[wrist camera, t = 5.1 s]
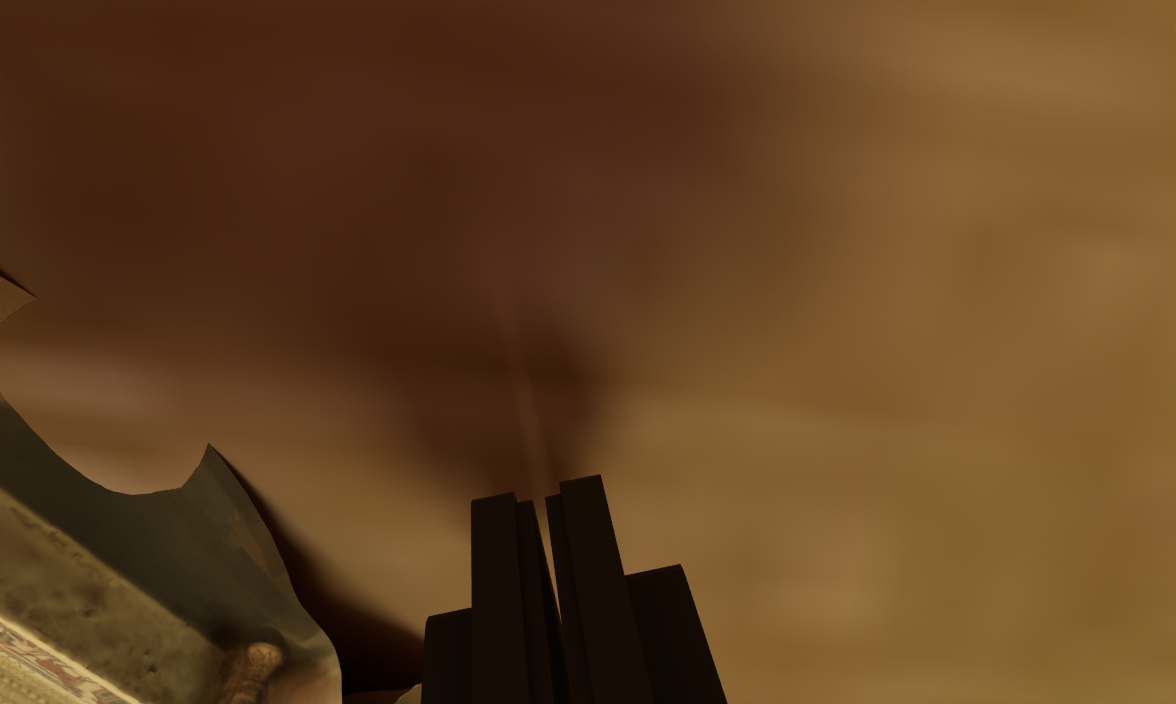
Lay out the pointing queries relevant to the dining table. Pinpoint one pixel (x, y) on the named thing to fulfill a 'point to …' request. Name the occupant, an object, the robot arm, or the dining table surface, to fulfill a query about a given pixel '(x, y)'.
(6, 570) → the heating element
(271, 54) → the dining table surface
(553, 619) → the robot arm
